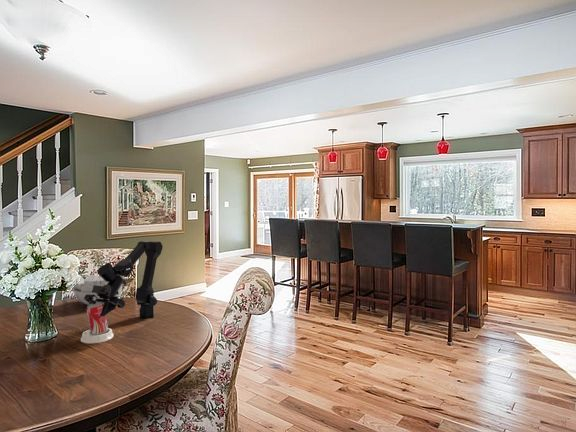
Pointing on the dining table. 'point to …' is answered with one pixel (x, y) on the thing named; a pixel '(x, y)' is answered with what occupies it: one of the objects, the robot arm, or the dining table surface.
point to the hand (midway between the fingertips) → (94, 318)
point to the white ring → (96, 337)
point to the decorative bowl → (89, 287)
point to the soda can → (96, 319)
